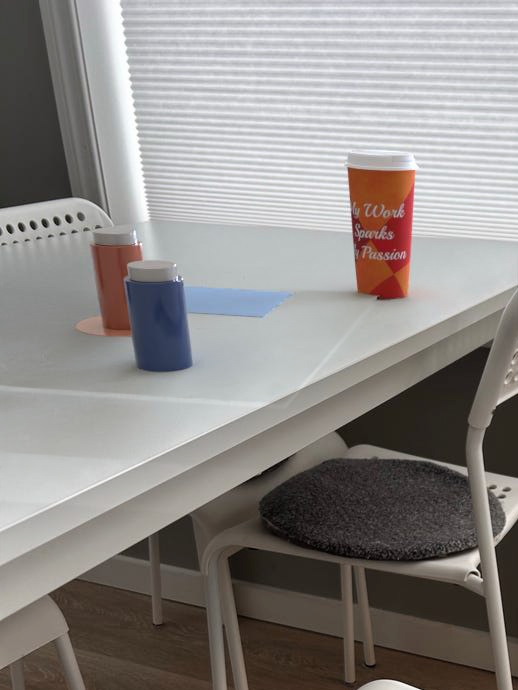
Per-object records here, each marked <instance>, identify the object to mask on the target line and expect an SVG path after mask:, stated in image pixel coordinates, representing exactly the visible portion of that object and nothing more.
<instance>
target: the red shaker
mask: <svg viewBox="0 0 518 690" xmlns="http://www.w3.org/2000/svg"><path fill="white" fill-rule="evenodd" d="M91 232H92V239H93V241H90V242H89V243H88V246H89V251H90V258H91V264H92V271H93V276H94V281H95V283H94V284H95V288H96V294H97V301H98V307H99V312H100V316H101V320H102V325H103V326H104V327H106V328H110V329H118V330H131V328H130V321H129V314H128V307H127V301H126V294H125V287H124V280H123V279H124V277H126V276H128V270H127V264H128V263H131V262H135V261H144V260H145V256H144V249H143V242H141V241H140V240H138V239H137V231H136V230H135V229H134V228H130V227H129V228H128V227H100V228H95V229H93V230H91Z"/></svg>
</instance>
